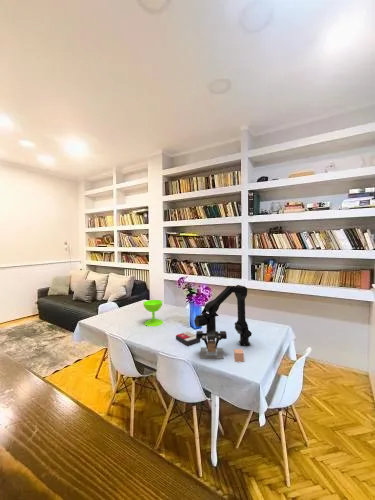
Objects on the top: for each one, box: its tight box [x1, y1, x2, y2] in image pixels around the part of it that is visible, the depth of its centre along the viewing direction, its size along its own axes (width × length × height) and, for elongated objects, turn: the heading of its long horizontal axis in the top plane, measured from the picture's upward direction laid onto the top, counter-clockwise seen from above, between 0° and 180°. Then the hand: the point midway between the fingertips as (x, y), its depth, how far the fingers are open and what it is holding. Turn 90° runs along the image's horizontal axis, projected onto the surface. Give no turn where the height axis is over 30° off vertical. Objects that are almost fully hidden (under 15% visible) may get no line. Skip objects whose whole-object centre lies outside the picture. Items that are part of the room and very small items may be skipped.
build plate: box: [199, 346, 224, 360], centre depth 155 cm, size 14×14×1 cm
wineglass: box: [143, 299, 164, 327], centre depth 211 cm, size 16×16×18 cm
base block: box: [207, 339, 216, 352], centre depth 155 cm, size 5×5×5 cm
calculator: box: [175, 331, 201, 347], centre depth 175 cm, size 11×4×15 cm
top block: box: [233, 348, 245, 362], centre depth 147 cm, size 5×5×5 cm
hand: (211, 348), depth 155 cm, fingers closed on base block, 5 cm apart
